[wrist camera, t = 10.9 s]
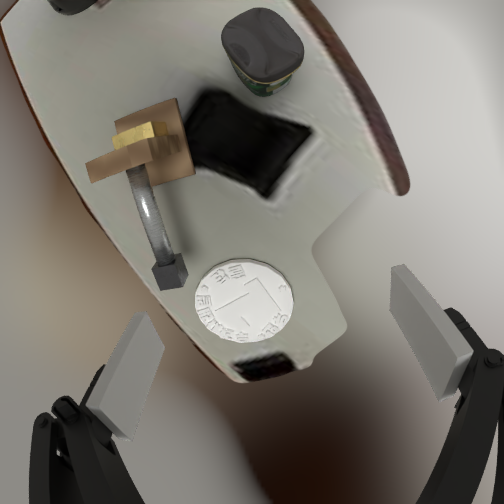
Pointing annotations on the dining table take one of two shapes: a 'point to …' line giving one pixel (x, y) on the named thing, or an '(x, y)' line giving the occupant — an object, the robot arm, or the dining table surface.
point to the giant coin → (244, 300)
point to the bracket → (149, 148)
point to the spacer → (140, 133)
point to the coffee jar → (262, 50)
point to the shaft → (156, 232)
